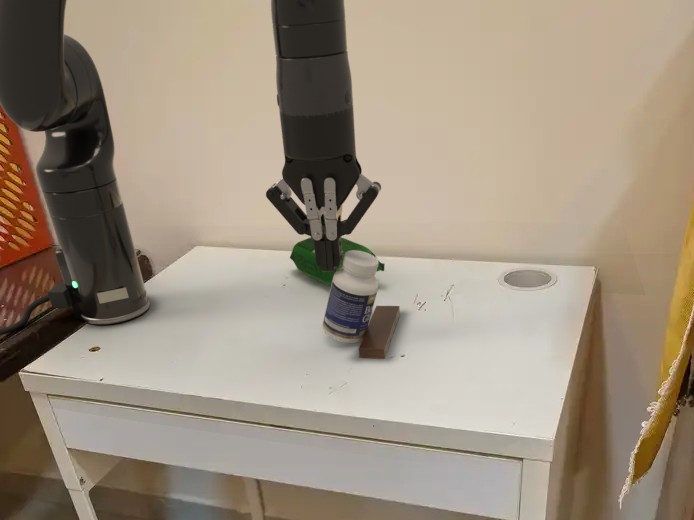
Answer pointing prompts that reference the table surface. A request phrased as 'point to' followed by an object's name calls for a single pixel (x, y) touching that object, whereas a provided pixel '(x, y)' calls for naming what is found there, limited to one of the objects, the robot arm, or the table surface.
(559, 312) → the table surface
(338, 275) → the pill bottle
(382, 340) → the bar
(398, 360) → the table surface
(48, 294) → the robot arm
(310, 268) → the snack package
